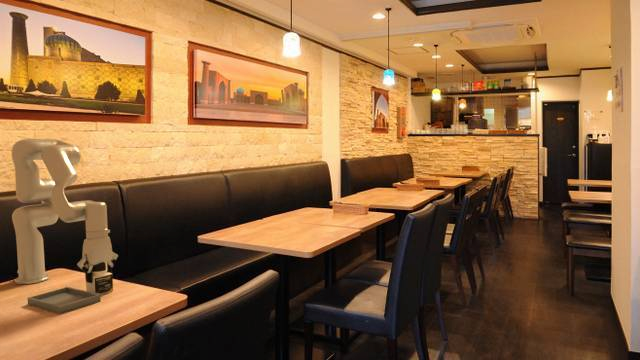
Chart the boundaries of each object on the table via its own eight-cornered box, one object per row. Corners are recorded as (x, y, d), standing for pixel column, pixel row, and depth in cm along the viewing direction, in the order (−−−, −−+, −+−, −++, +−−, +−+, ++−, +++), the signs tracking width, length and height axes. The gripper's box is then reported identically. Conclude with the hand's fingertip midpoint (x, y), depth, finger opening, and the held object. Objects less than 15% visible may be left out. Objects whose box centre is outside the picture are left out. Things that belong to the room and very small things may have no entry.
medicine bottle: (95, 296, 178) (94, 264, 177) (86, 292, 182) (84, 262, 181) (113, 291, 184) (112, 260, 183) (104, 288, 188) (102, 258, 187)
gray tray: (27, 304, 170) (27, 297, 169) (68, 292, 182) (68, 286, 182) (60, 314, 159) (59, 307, 159) (100, 301, 172) (100, 294, 172)
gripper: (111, 229, 191) (113, 272, 192) (69, 237, 176) (71, 284, 177) (123, 231, 187) (125, 275, 188) (81, 239, 172) (84, 287, 173)
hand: (99, 279), depth 183 cm, fingers closed on medicine bottle, 7 cm apart
